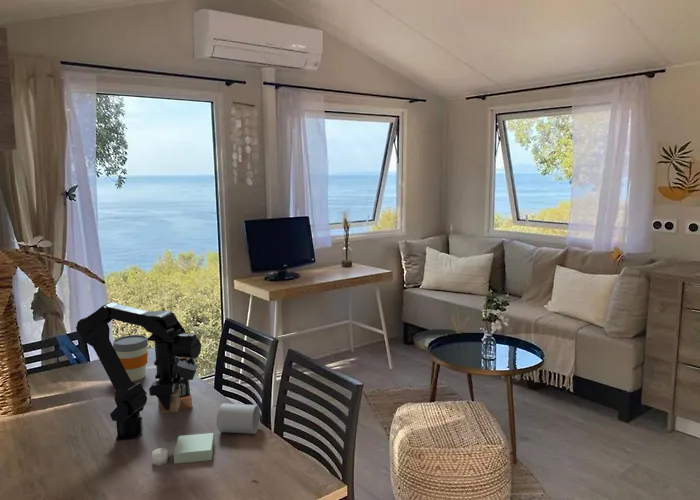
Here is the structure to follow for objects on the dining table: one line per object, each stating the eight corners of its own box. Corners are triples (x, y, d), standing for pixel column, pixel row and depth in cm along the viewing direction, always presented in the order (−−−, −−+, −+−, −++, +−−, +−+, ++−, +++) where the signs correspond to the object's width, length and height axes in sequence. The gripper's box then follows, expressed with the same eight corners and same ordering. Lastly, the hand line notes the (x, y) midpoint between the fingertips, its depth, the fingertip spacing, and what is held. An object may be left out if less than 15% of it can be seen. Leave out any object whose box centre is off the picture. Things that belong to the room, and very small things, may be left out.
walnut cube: (159, 413, 161) (158, 397, 160) (163, 405, 166) (161, 390, 165) (176, 412, 161) (175, 395, 161) (180, 404, 166) (179, 389, 165)
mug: (214, 431, 165) (250, 433, 163) (218, 401, 168) (253, 403, 166) (227, 432, 176) (261, 434, 175) (231, 405, 179) (264, 406, 177)
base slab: (174, 463, 152) (173, 453, 152) (179, 445, 162) (178, 436, 162) (211, 459, 154) (211, 449, 153) (214, 442, 164) (213, 432, 163)
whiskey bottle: (193, 407, 187) (187, 316, 182) (162, 414, 183) (155, 320, 178) (187, 396, 196) (181, 309, 191) (158, 402, 192) (151, 312, 187)
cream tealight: (151, 466, 151) (150, 456, 151) (154, 458, 155) (153, 448, 155) (166, 464, 152) (166, 454, 151) (169, 457, 156) (168, 447, 155)
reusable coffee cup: (132, 385, 207) (129, 346, 205) (108, 379, 212) (105, 342, 210) (157, 373, 218) (154, 336, 216) (133, 368, 224) (130, 333, 221)
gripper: (188, 365, 153) (192, 418, 155) (199, 343, 171) (202, 391, 173) (146, 367, 151) (151, 420, 154) (162, 345, 170) (165, 393, 172)
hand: (169, 405), depth 163 cm, fingers closed on walnut cube, 5 cm apart
